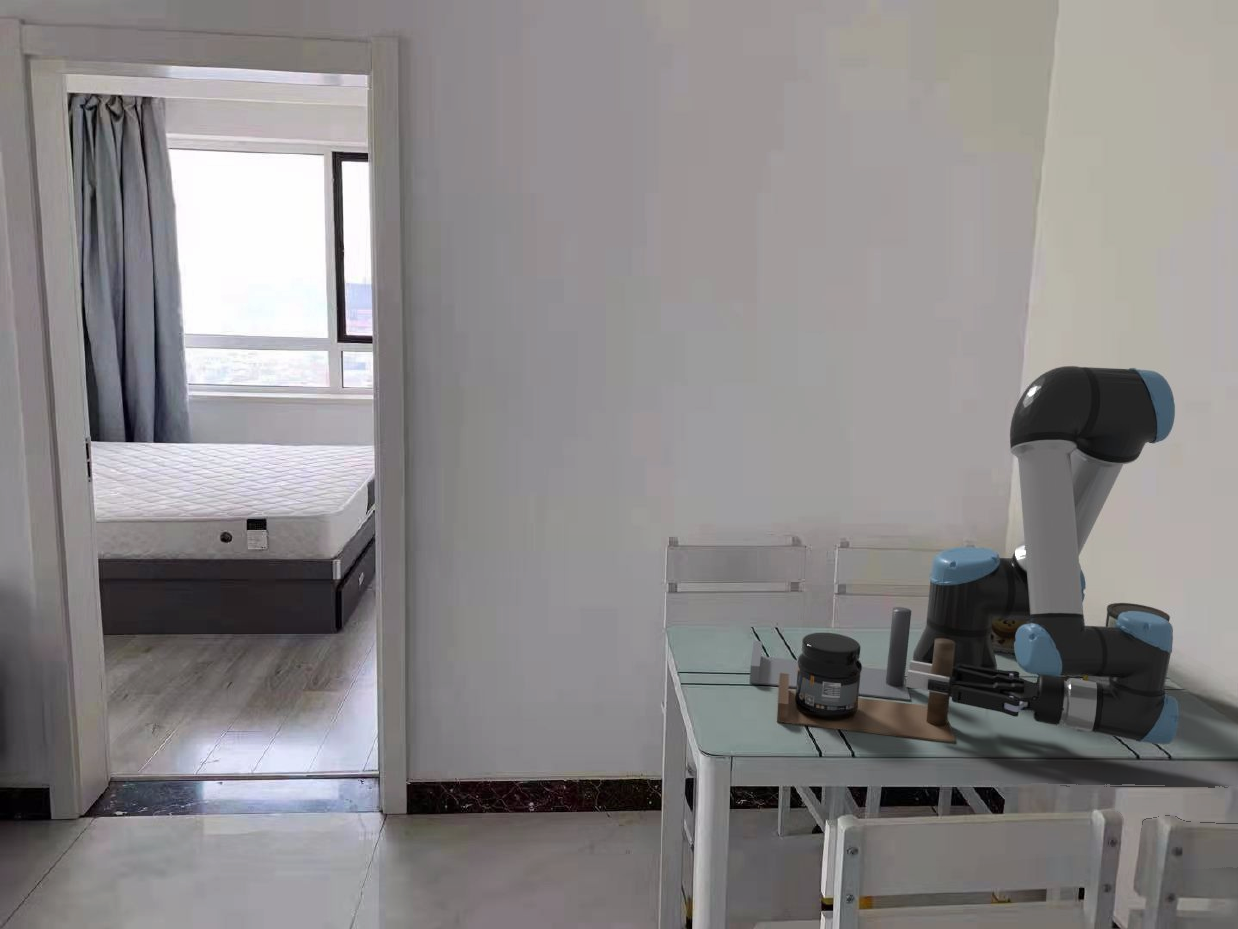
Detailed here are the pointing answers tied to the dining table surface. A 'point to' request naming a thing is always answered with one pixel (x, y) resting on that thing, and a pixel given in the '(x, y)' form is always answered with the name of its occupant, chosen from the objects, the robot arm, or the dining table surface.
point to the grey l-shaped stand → (870, 678)
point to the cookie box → (1005, 634)
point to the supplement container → (828, 676)
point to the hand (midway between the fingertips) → (908, 673)
